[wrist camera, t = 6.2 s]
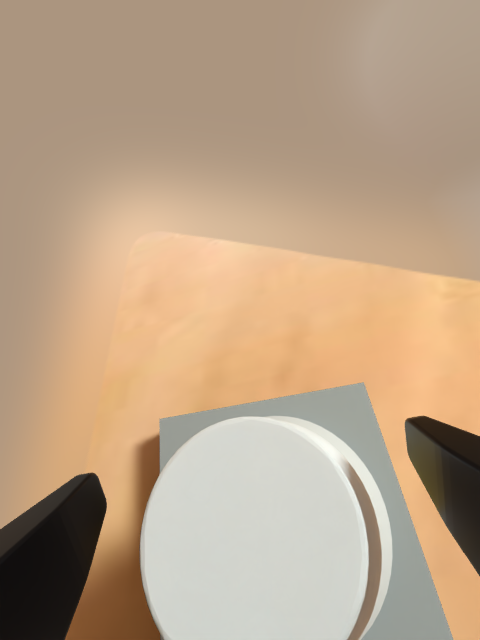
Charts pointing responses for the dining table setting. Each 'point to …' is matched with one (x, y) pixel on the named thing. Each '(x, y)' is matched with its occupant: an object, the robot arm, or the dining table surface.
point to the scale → (380, 483)
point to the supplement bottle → (259, 538)
